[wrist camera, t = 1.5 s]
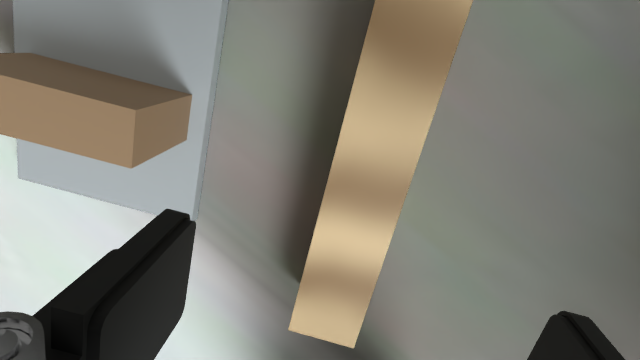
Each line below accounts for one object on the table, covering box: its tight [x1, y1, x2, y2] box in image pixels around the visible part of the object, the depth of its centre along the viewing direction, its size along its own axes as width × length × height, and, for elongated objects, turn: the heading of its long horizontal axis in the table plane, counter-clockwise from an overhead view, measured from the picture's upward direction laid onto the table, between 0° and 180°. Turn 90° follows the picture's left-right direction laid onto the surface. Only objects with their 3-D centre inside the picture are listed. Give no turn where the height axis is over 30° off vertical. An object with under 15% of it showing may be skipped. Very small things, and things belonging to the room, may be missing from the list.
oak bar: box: [288, 0, 473, 348], centre depth 22 cm, size 20×4×5 cm, turn 165°
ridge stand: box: [0, 0, 229, 221], centre depth 21 cm, size 12×14×7 cm
